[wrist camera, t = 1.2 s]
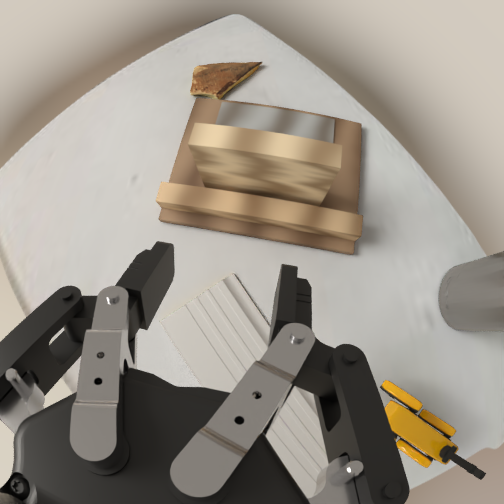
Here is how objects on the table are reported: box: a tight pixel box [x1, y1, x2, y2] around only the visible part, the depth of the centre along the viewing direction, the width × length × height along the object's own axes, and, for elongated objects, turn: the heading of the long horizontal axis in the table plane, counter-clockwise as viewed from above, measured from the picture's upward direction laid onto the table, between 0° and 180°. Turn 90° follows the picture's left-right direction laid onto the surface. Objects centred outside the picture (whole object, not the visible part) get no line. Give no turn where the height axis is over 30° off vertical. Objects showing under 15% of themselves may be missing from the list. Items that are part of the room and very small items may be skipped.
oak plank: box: [188, 123, 342, 207], centre depth 32 cm, size 14×2×11 cm, turn 80°
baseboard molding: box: [159, 273, 328, 498], centre depth 33 cm, size 31×3×12 cm
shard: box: [190, 62, 262, 100], centre depth 42 cm, size 11×8×2 cm
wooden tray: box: [156, 98, 363, 255], centre depth 38 cm, size 24×19×4 cm
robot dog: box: [380, 380, 486, 480], centre depth 26 cm, size 6×18×13 cm, turn 50°
